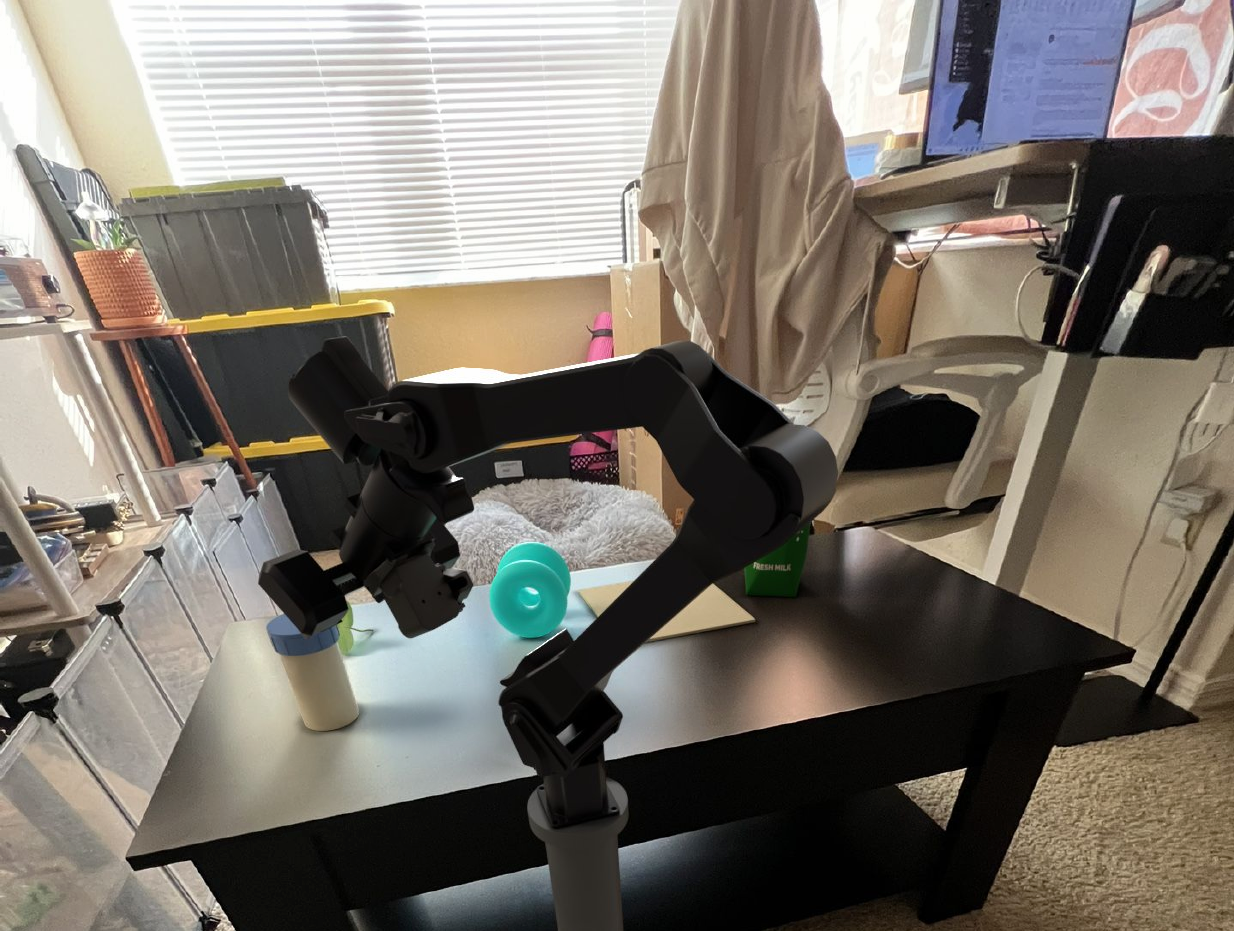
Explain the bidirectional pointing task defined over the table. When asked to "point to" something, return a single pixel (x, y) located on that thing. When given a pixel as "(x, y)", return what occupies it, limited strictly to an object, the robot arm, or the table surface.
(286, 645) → the lid
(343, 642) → the green clover
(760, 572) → the milk carton
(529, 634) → the turquoise spool
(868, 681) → the table surface
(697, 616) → the placemat
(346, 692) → the jar
